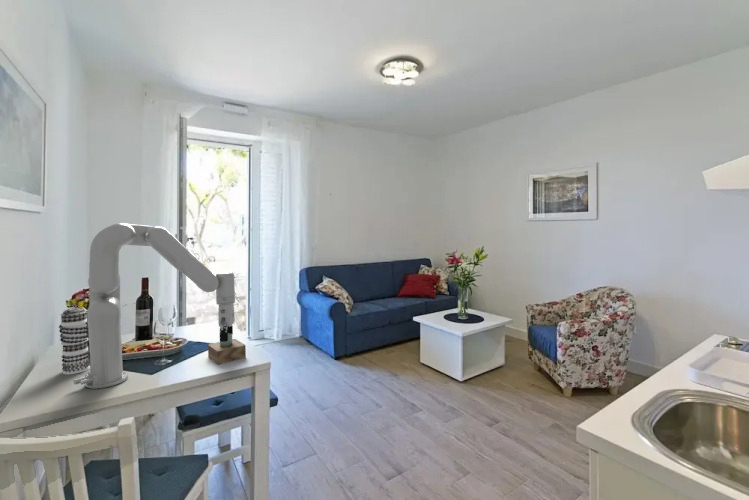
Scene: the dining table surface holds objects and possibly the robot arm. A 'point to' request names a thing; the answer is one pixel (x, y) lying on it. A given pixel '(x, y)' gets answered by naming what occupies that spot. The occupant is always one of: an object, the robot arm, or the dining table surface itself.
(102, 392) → the dining table surface
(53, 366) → the dining table surface
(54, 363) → the dining table surface
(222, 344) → the green rounded block
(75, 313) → the black white patterned vase
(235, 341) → the walnut block
